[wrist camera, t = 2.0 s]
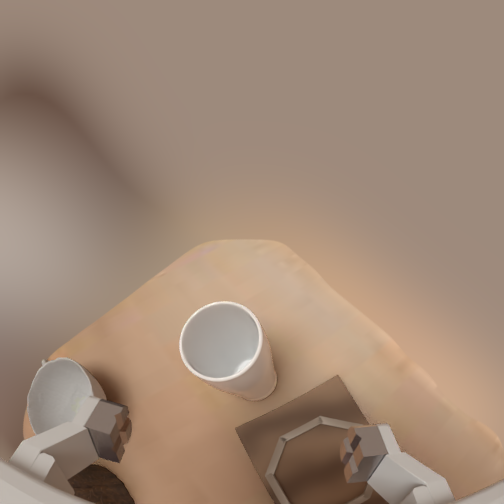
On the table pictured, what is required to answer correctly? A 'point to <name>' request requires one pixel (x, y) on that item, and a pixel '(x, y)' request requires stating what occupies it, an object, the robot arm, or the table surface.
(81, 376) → the teacup
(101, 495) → the statue
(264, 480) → the walnut board
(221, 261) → the table surface
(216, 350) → the drinking glass
